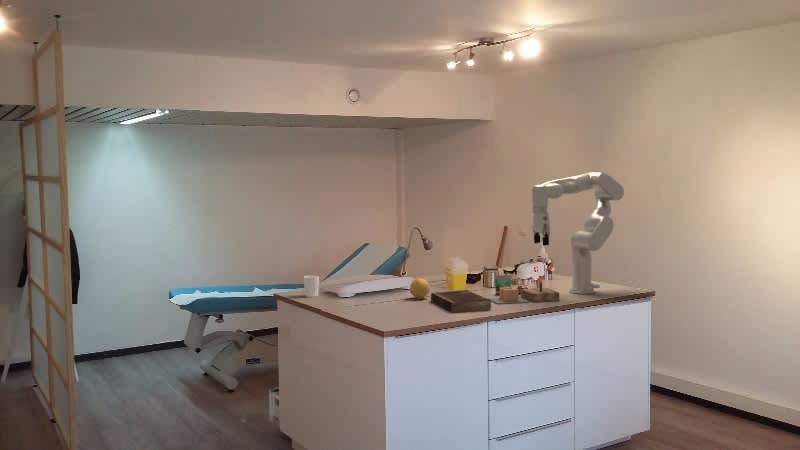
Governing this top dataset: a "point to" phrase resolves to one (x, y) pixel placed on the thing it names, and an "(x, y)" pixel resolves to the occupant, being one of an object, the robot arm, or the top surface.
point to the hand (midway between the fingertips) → (541, 244)
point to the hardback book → (461, 301)
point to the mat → (499, 301)
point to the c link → (509, 294)
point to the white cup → (311, 286)
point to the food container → (502, 281)
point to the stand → (539, 294)
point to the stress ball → (419, 288)
